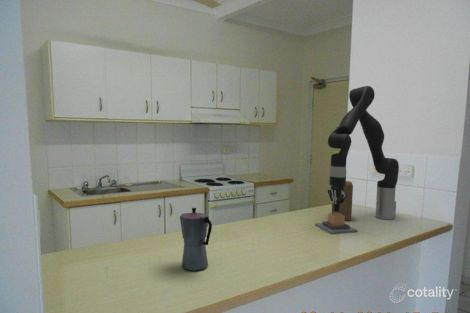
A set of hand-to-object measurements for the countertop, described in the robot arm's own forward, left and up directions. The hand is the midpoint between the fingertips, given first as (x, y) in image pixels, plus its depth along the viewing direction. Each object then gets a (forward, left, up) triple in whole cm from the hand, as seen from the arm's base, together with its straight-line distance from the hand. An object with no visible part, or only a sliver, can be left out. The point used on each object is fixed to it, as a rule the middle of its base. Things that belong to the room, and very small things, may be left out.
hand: (336, 211), depth 151 cm
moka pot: (+72, +27, -9) cm, 77 cm away
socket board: (0, 0, -9) cm, 9 cm away
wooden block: (-14, -16, -9) cm, 23 cm away
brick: (0, 0, -8) cm, 8 cm away
